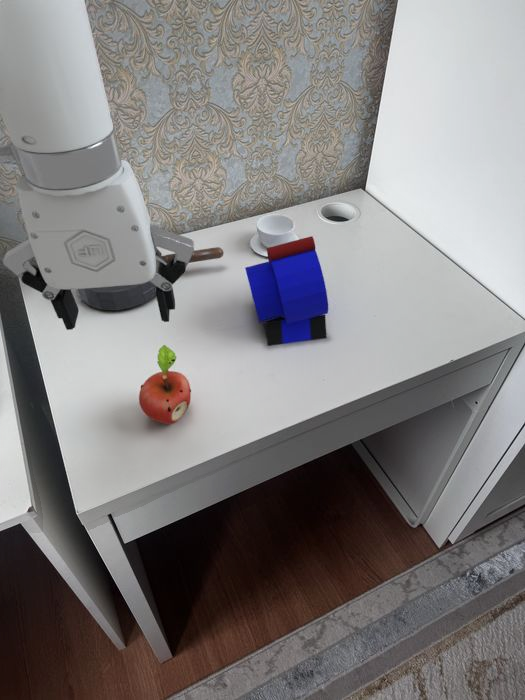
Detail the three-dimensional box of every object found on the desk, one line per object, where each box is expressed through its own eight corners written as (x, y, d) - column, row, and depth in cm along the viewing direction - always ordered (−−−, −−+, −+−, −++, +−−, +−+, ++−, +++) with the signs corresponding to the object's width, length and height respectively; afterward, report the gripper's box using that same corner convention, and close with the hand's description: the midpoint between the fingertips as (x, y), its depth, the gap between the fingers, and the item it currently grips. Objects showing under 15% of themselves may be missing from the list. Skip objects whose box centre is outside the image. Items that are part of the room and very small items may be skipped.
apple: (199, 427, 65) (191, 380, 58) (149, 441, 64) (134, 394, 56) (187, 386, 70) (178, 337, 63) (141, 398, 69) (125, 350, 61)
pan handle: (160, 269, 86) (158, 260, 84) (159, 263, 87) (157, 253, 85) (224, 259, 87) (223, 250, 86) (222, 253, 89) (221, 244, 87)
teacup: (309, 251, 93) (311, 230, 90) (263, 264, 90) (263, 243, 87) (285, 226, 100) (286, 205, 96) (241, 238, 97) (241, 217, 93)
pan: (77, 319, 80) (69, 299, 77) (79, 265, 91) (71, 245, 88) (170, 304, 83) (166, 283, 80) (161, 253, 93) (157, 233, 90)
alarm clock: (330, 337, 77) (340, 259, 66) (254, 347, 75) (252, 270, 65) (311, 289, 85) (317, 214, 74) (243, 298, 84) (239, 222, 73)
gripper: (-60, 186, 35) (27, 349, 47) (180, 171, 36) (203, 334, 48) (-28, 143, 40) (43, 300, 52) (181, 131, 41) (202, 288, 53)
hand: (120, 316), depth 50 cm, fingers open, 9 cm apart
